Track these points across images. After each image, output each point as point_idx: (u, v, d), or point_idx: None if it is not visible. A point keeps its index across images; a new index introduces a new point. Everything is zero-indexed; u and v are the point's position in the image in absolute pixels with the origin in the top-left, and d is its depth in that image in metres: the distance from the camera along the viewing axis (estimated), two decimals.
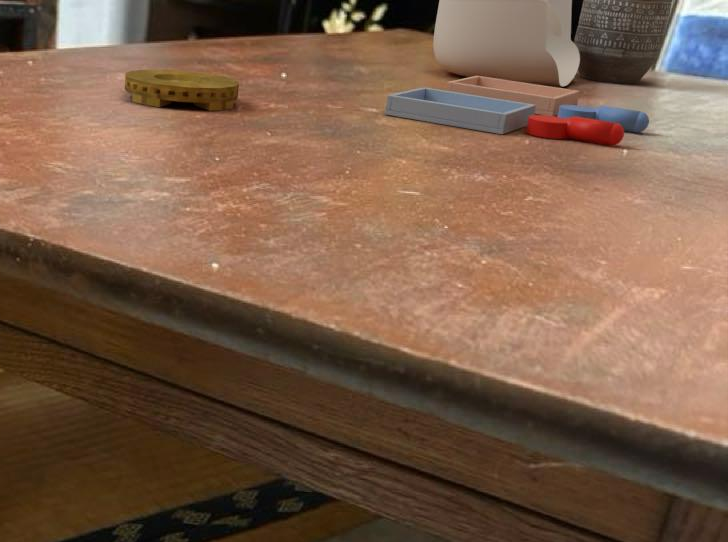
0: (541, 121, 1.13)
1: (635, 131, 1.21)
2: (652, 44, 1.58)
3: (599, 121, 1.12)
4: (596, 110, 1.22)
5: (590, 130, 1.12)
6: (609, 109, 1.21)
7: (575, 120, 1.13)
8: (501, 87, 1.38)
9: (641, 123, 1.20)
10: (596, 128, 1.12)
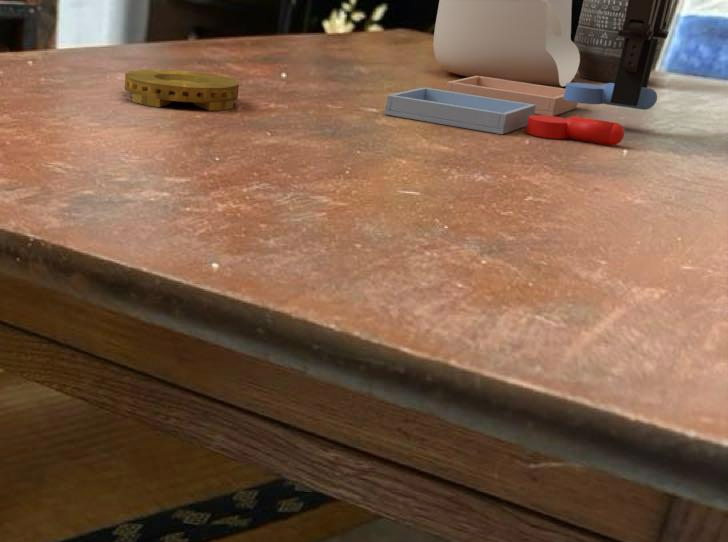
0: (541, 121, 1.13)
1: (643, 108, 1.20)
2: None
3: (599, 121, 1.12)
4: (603, 87, 1.21)
5: (590, 130, 1.12)
6: None
7: (575, 120, 1.13)
8: (501, 87, 1.38)
9: (649, 99, 1.19)
10: (596, 128, 1.12)
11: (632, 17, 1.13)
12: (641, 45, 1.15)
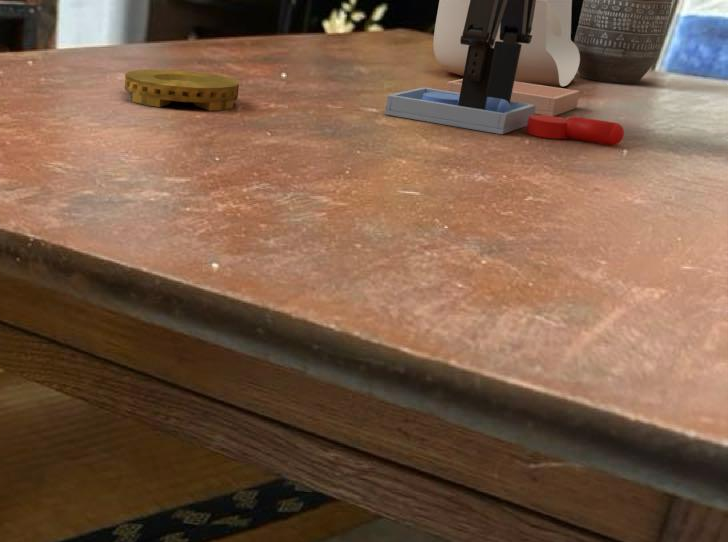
0: (541, 121, 1.13)
1: None
2: (652, 44, 1.58)
3: (599, 121, 1.12)
4: (458, 98, 1.19)
5: (590, 130, 1.12)
6: None
7: (575, 120, 1.13)
8: None
9: (502, 111, 1.17)
10: (596, 128, 1.12)
11: (472, 23, 1.09)
12: (483, 53, 1.11)
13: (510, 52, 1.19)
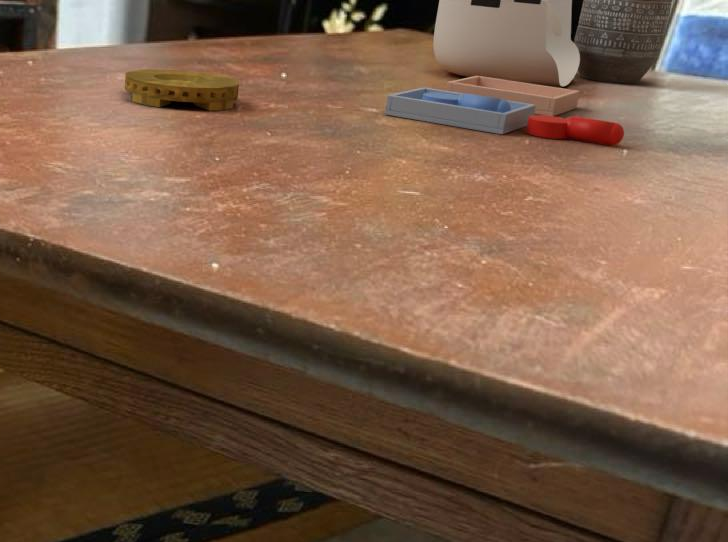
0: (541, 121, 1.13)
1: None
2: (652, 44, 1.58)
3: (599, 121, 1.12)
4: (458, 98, 1.19)
5: (590, 130, 1.12)
6: (470, 97, 1.18)
7: (575, 120, 1.13)
8: (501, 87, 1.38)
9: (502, 111, 1.17)
10: (596, 128, 1.12)
11: None
12: None
13: None
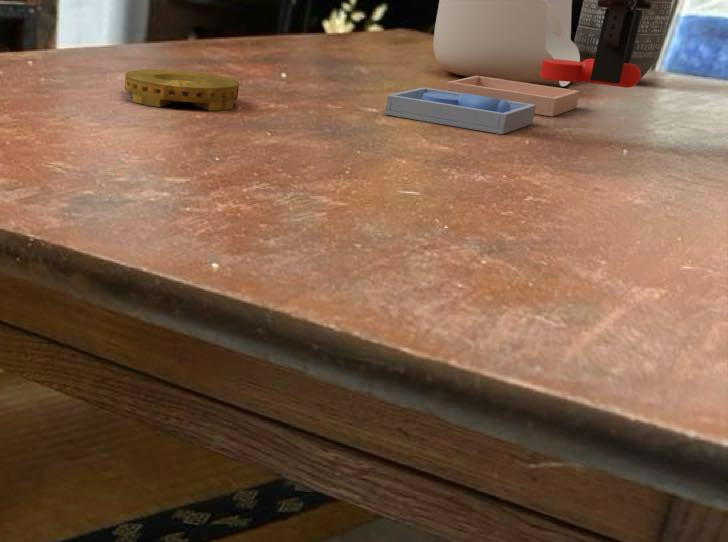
0: (555, 63, 1.11)
1: None
2: (652, 44, 1.58)
3: None
4: (458, 98, 1.19)
5: None
6: (470, 97, 1.18)
7: (590, 62, 1.10)
8: (501, 87, 1.38)
9: (502, 111, 1.17)
10: None
11: None
12: (623, 16, 1.05)
13: None
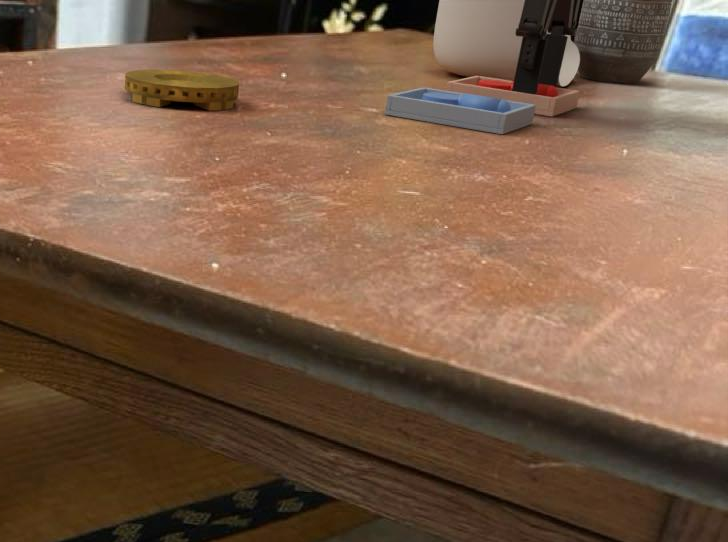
0: (488, 84, 1.32)
1: None
2: (652, 44, 1.58)
3: None
4: (458, 98, 1.19)
5: None
6: (470, 97, 1.18)
7: None
8: None
9: (502, 111, 1.17)
10: None
11: (527, 16, 1.23)
12: (536, 44, 1.25)
13: (557, 43, 1.32)
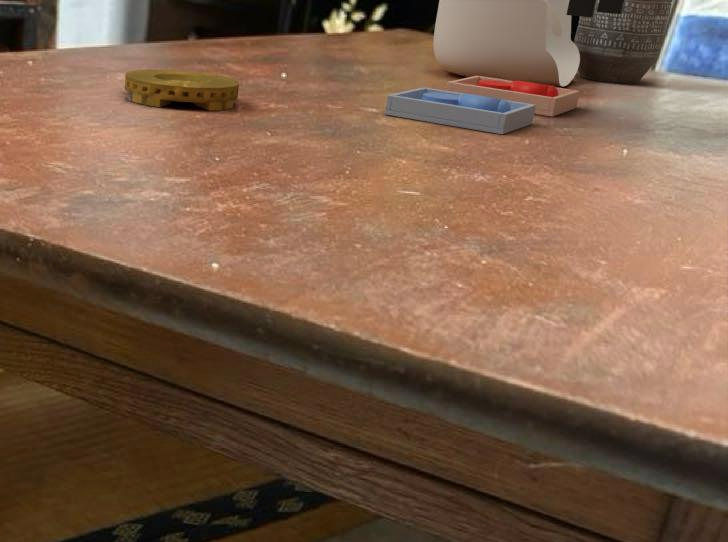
0: (488, 84, 1.32)
1: None
2: (652, 44, 1.58)
3: (537, 84, 1.31)
4: (458, 98, 1.19)
5: (529, 92, 1.31)
6: (470, 97, 1.18)
7: (517, 83, 1.32)
8: None
9: (502, 111, 1.17)
10: (534, 90, 1.31)
11: None
12: None
13: None
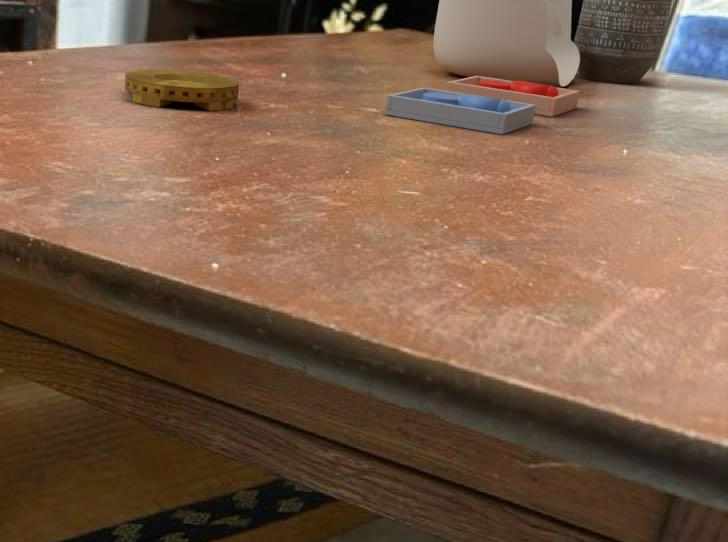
0: (488, 84, 1.32)
1: None
2: (652, 44, 1.58)
3: (537, 84, 1.31)
4: (458, 98, 1.19)
5: (529, 92, 1.31)
6: (470, 97, 1.18)
7: (517, 83, 1.32)
8: None
9: (502, 111, 1.17)
10: (534, 90, 1.31)
11: None
12: None
13: None
